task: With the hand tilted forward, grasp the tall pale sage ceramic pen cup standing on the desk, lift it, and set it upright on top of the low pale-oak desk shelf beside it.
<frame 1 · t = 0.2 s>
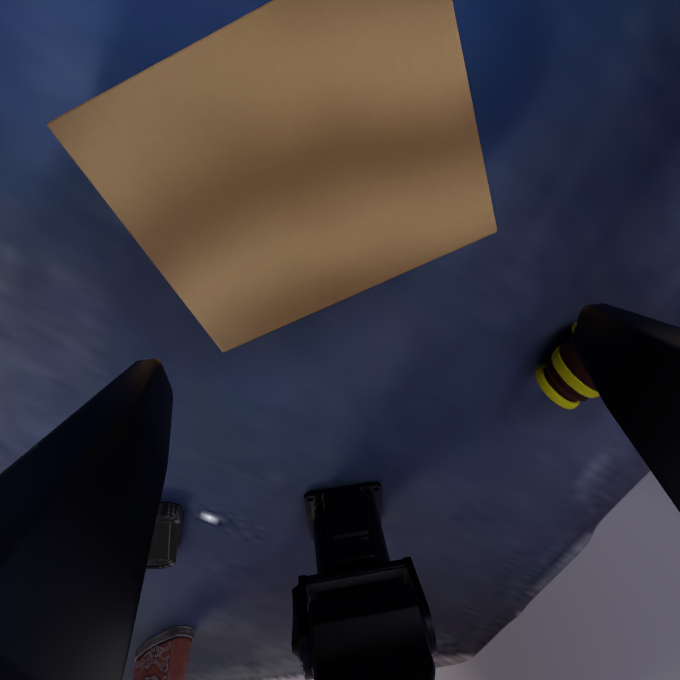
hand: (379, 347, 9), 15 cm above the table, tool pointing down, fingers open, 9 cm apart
lighter: (165, 639, 47), on the table
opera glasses: (592, 352, 31), on the table
phone: (81, 526, 34), on the table
shelf: (296, 158, 20), on the table
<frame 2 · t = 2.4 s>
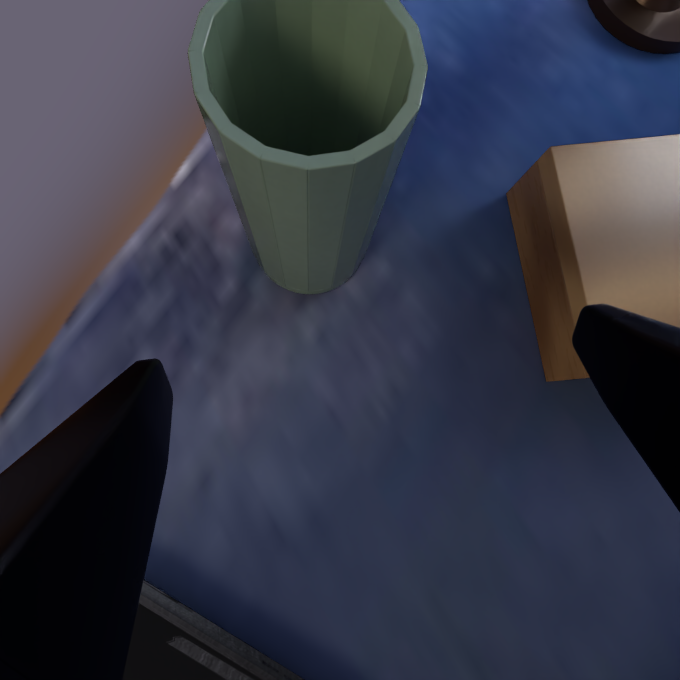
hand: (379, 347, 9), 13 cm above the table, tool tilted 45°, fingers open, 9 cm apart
pen cup: (309, 239, 23), on the table
shelf: (639, 270, 25), on the table
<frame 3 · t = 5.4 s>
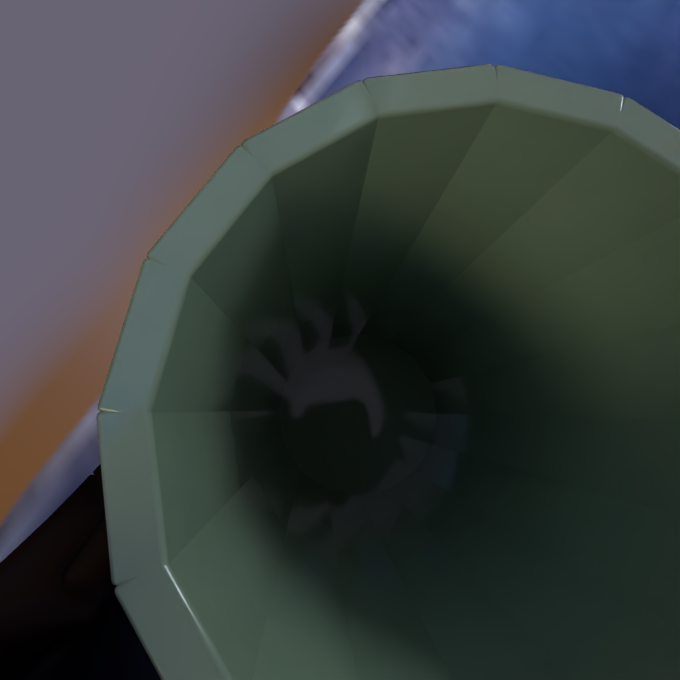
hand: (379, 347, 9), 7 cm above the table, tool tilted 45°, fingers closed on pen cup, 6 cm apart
pen cup: (356, 412, 15), on the table, touching gripper
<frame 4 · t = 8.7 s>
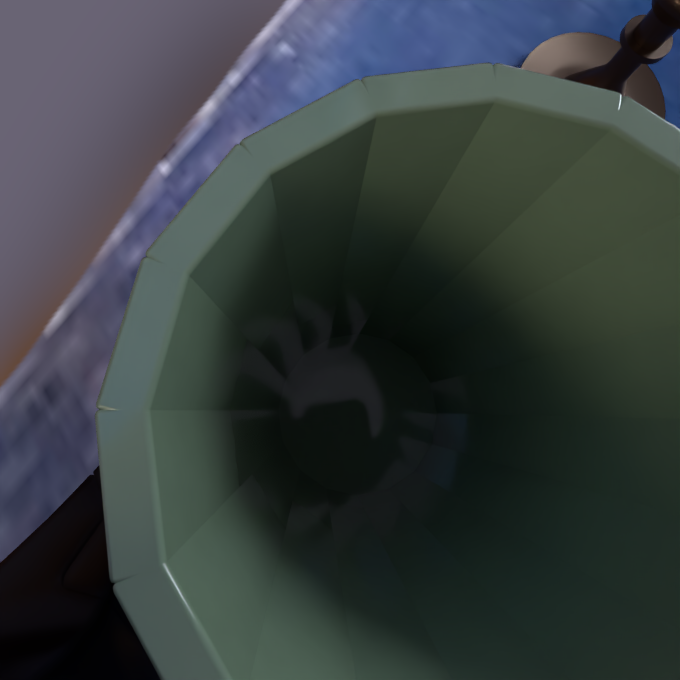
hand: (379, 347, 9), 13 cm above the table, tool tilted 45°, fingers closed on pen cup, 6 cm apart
candlestick: (579, 112, 26), on the table
pen cup: (355, 411, 16), point 7 cm above the table, touching gripper
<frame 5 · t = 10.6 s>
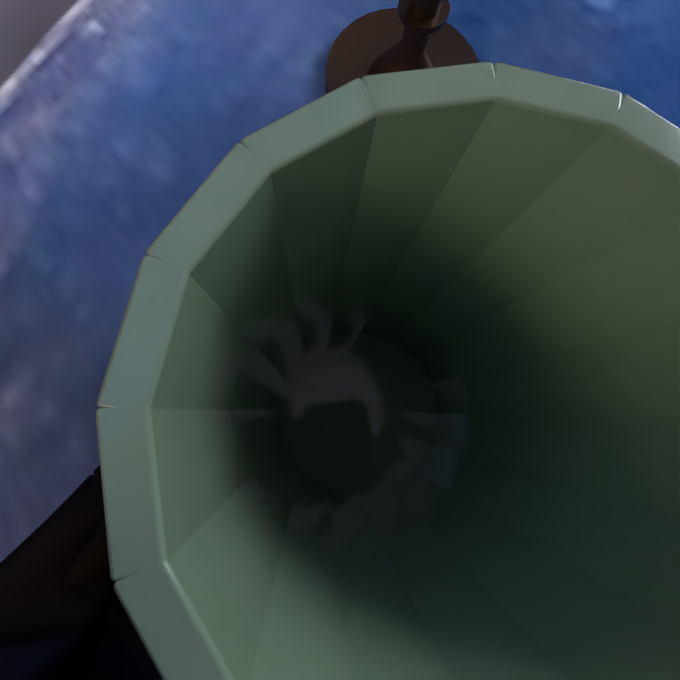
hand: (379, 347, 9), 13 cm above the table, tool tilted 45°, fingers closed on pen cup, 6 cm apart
candlestick: (401, 90, 25), on the table
pen cup: (356, 411, 16), point 6 cm above the table, touching gripper
when the fingers open (11 cm above the table, at t = 11.8 s): pen cup stays where it is, resting on shelf.
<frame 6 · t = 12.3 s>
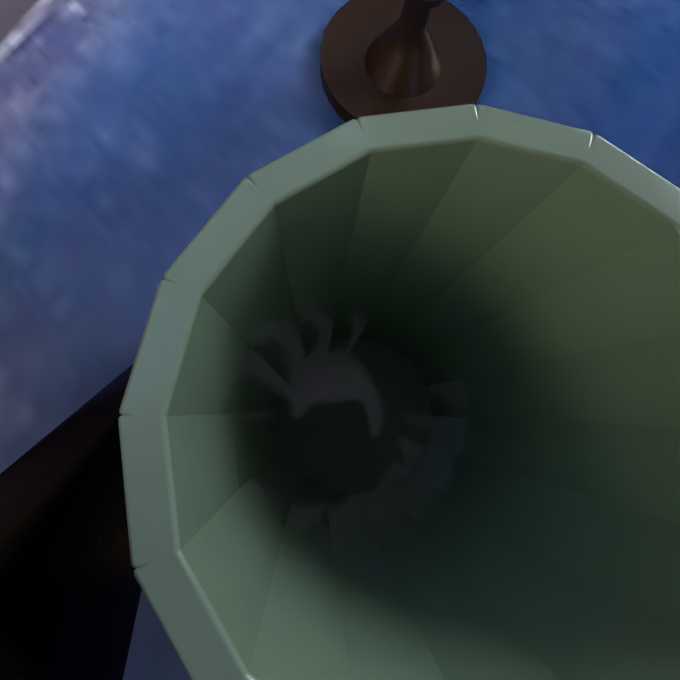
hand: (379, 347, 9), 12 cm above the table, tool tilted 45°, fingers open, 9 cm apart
candlestick: (400, 74, 24), on the table
pen cup: (354, 413, 16), point 5 cm above the table, touching shelf
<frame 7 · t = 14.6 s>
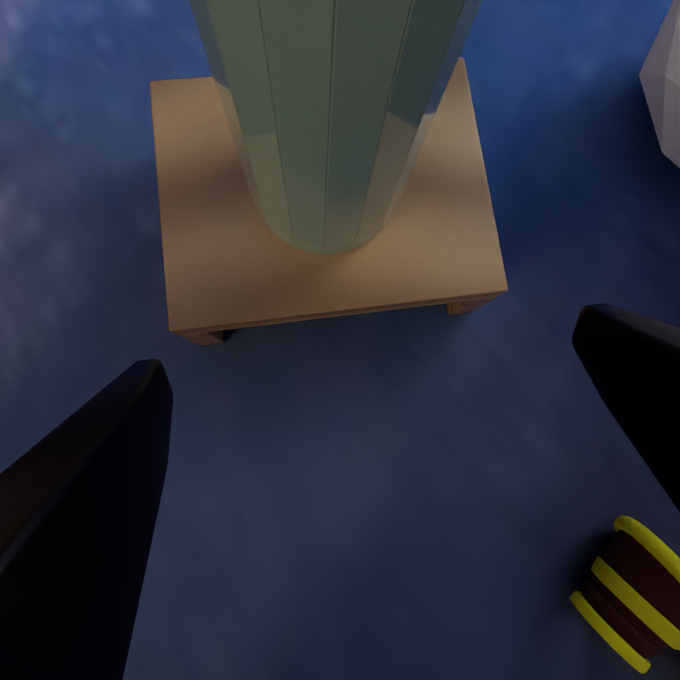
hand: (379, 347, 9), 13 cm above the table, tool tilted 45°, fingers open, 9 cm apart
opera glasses: (653, 603, 21), on the table
pen cup: (325, 184, 18), point 5 cm above the table, touching shelf
shelf: (324, 228, 23), on the table
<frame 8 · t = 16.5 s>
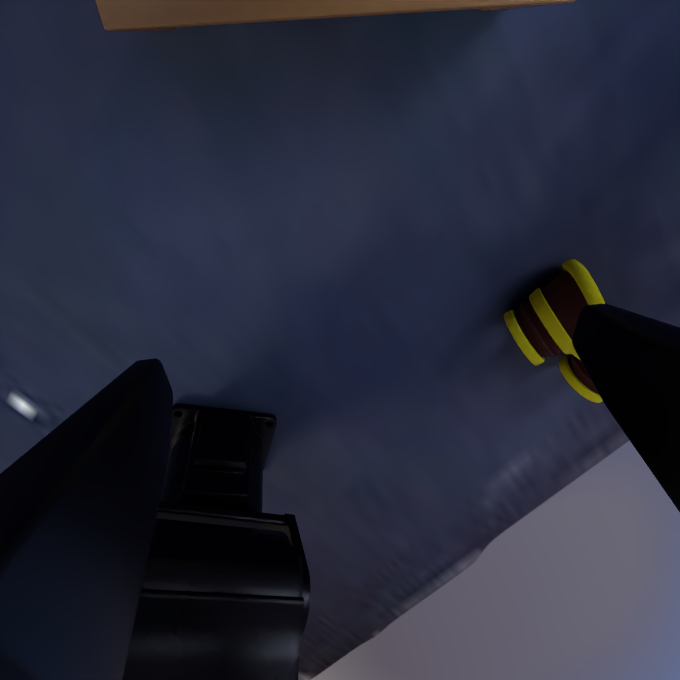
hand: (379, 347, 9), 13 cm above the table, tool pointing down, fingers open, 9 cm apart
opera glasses: (564, 316, 26), on the table
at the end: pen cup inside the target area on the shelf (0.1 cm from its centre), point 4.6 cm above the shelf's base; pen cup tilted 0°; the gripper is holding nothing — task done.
